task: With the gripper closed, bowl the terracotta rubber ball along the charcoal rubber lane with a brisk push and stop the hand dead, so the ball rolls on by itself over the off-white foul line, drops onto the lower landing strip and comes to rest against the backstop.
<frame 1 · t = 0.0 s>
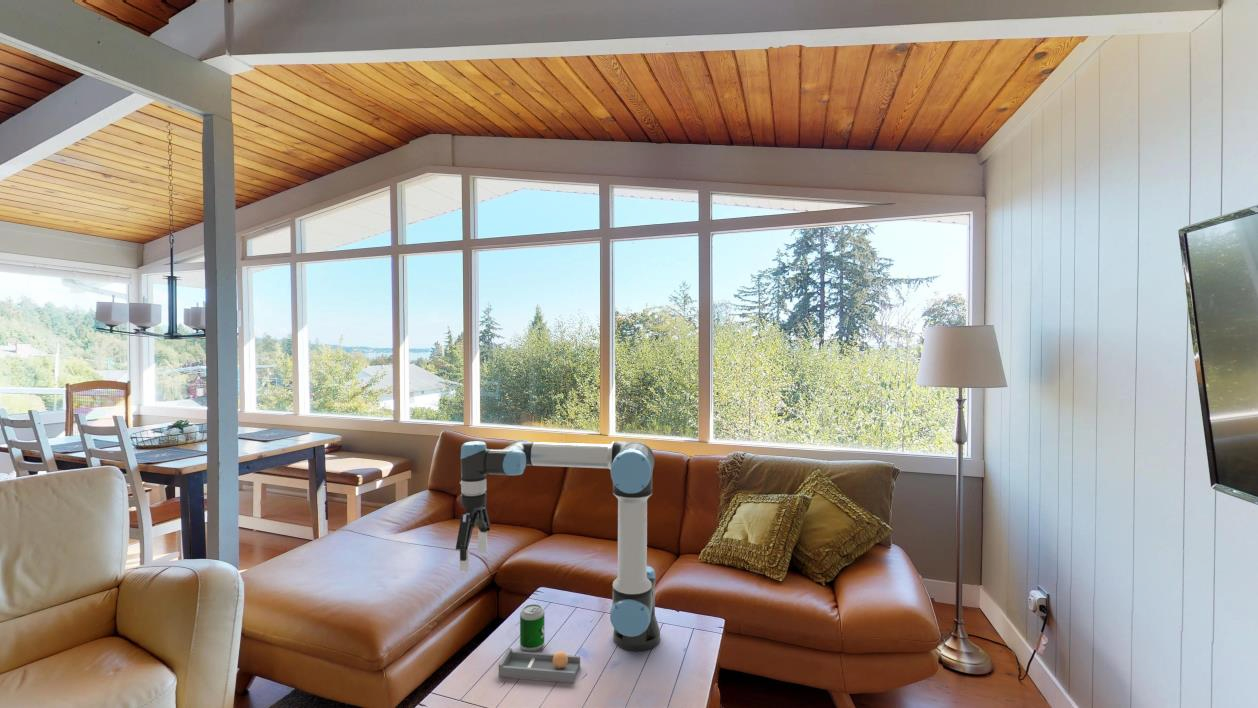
hand: (473, 560, 167), 28 cm above the table, fingers open, 13 cm apart
lane: (540, 670, 157), on the table
soda can: (532, 647, 170), on the table
ball: (560, 660, 156), point 4 cm above the table, touching lane
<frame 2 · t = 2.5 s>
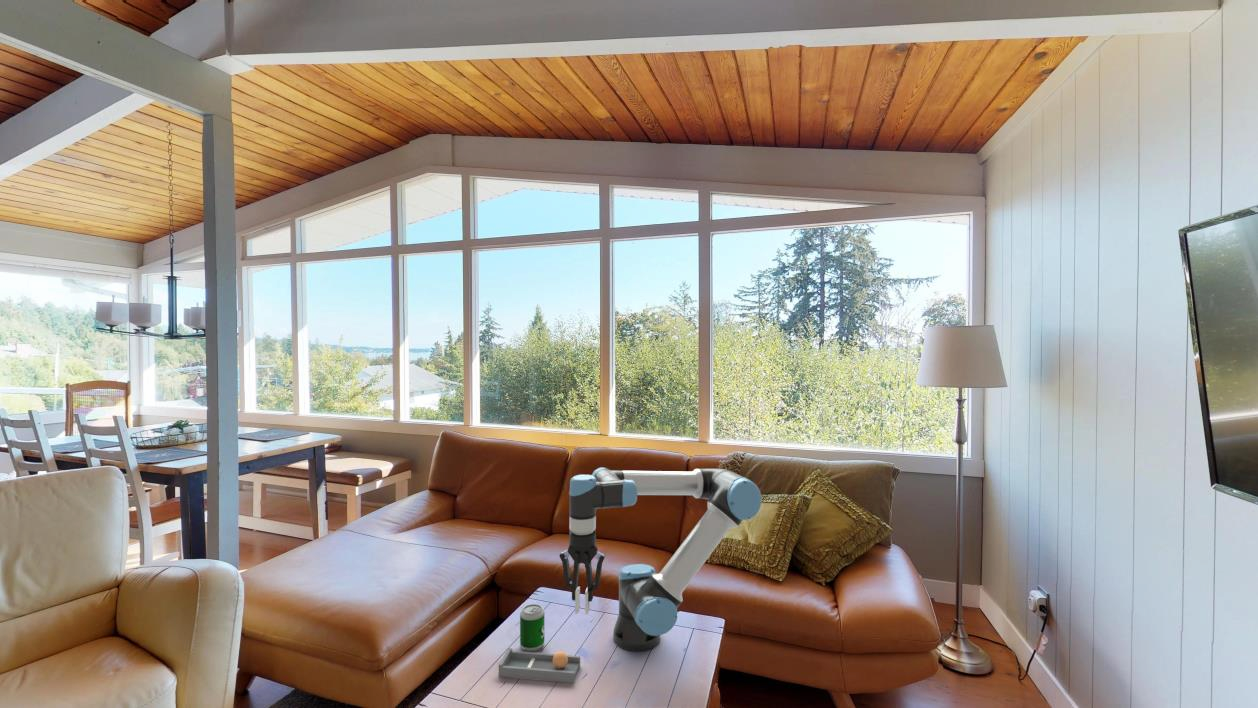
hand: (582, 611, 155), 18 cm above the table, fingers open, 2 cm apart
nothing on the table moved.
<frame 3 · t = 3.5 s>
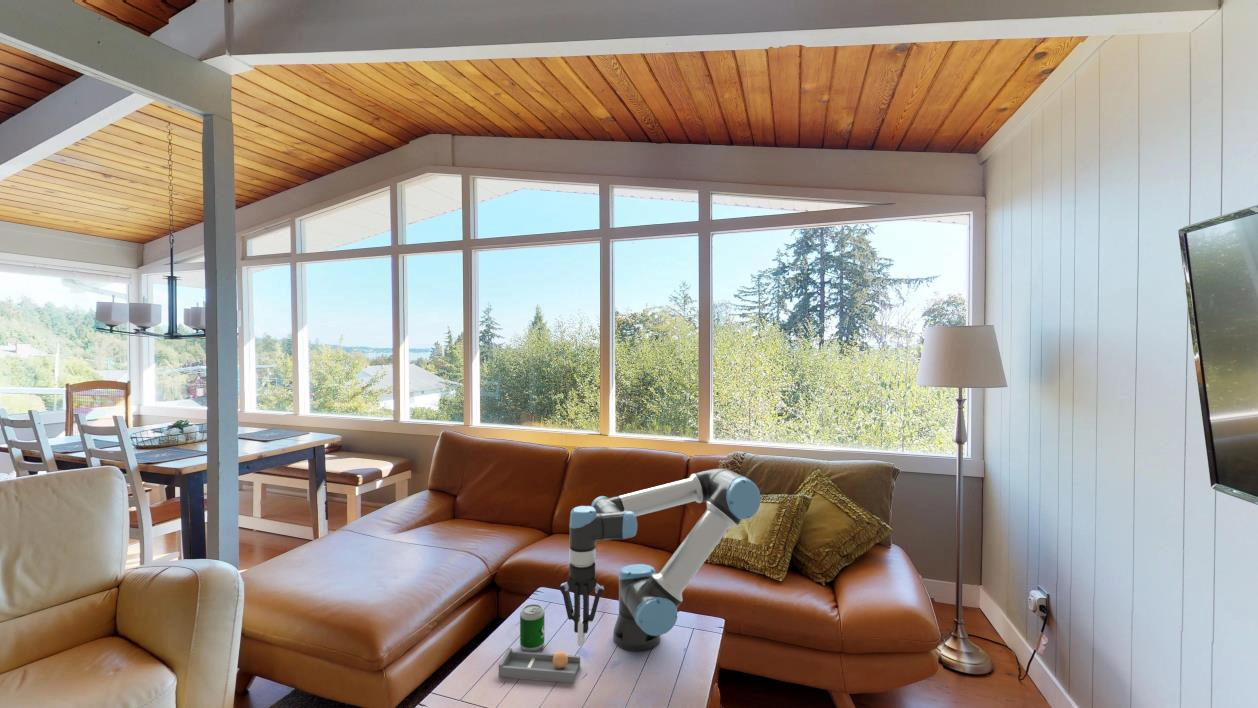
hand: (581, 643, 155), 9 cm above the table, fingers closed
nothing on the table moved.
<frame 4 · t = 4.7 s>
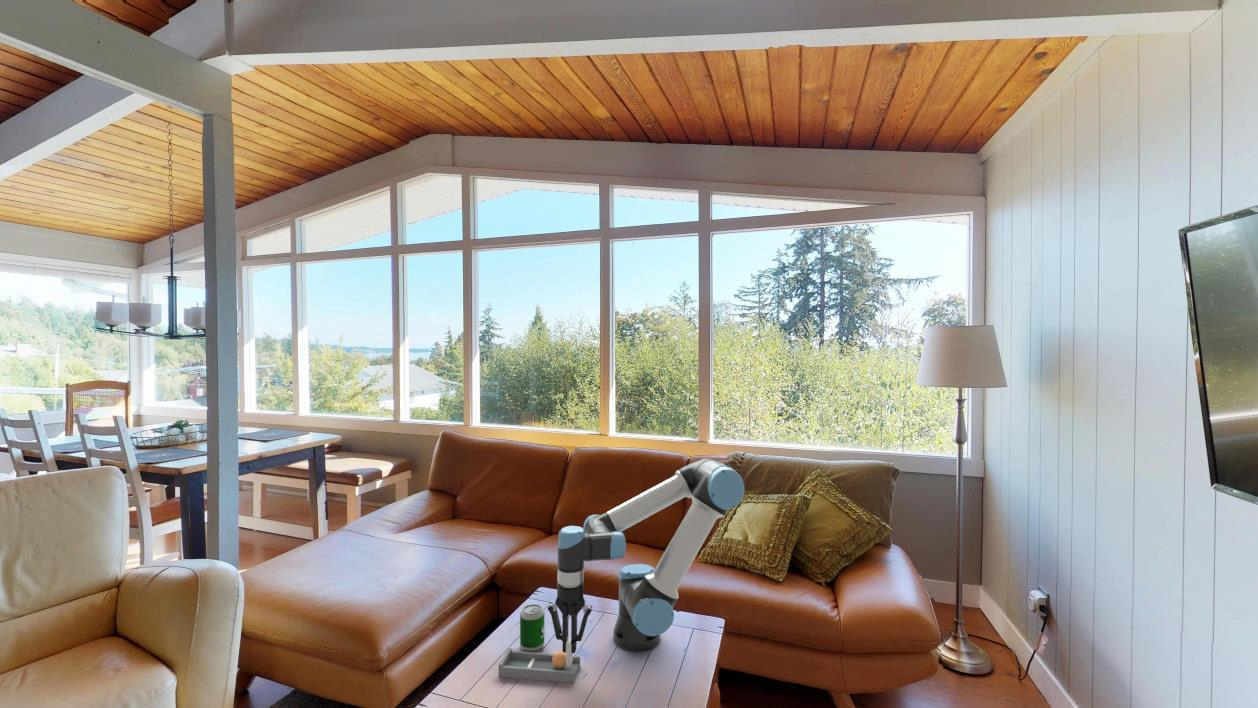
hand: (569, 662, 156), 3 cm above the table, fingers closed
ball: (559, 659, 156), point 4 cm above the table, touching gripper
everything else where it was.
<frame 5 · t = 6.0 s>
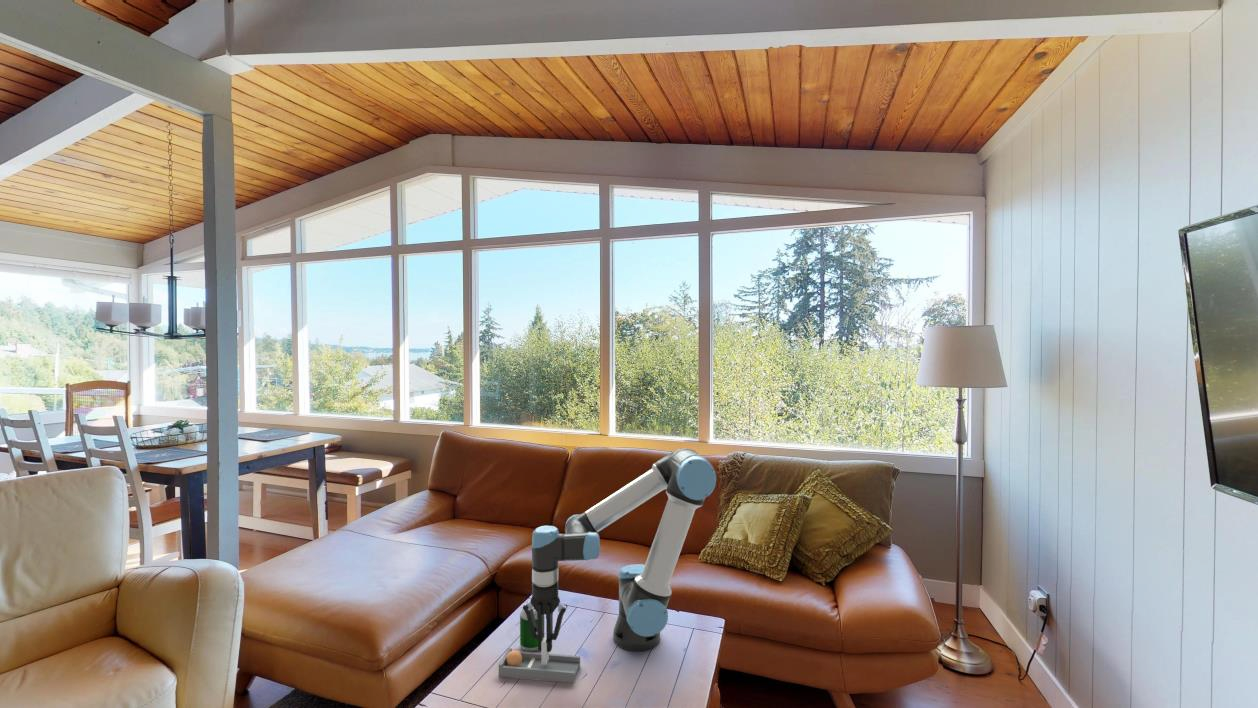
hand: (545, 661, 157), 3 cm above the table, fingers closed
ball: (514, 658, 158), point 3 cm above the table, touching lane
everything else where it was.
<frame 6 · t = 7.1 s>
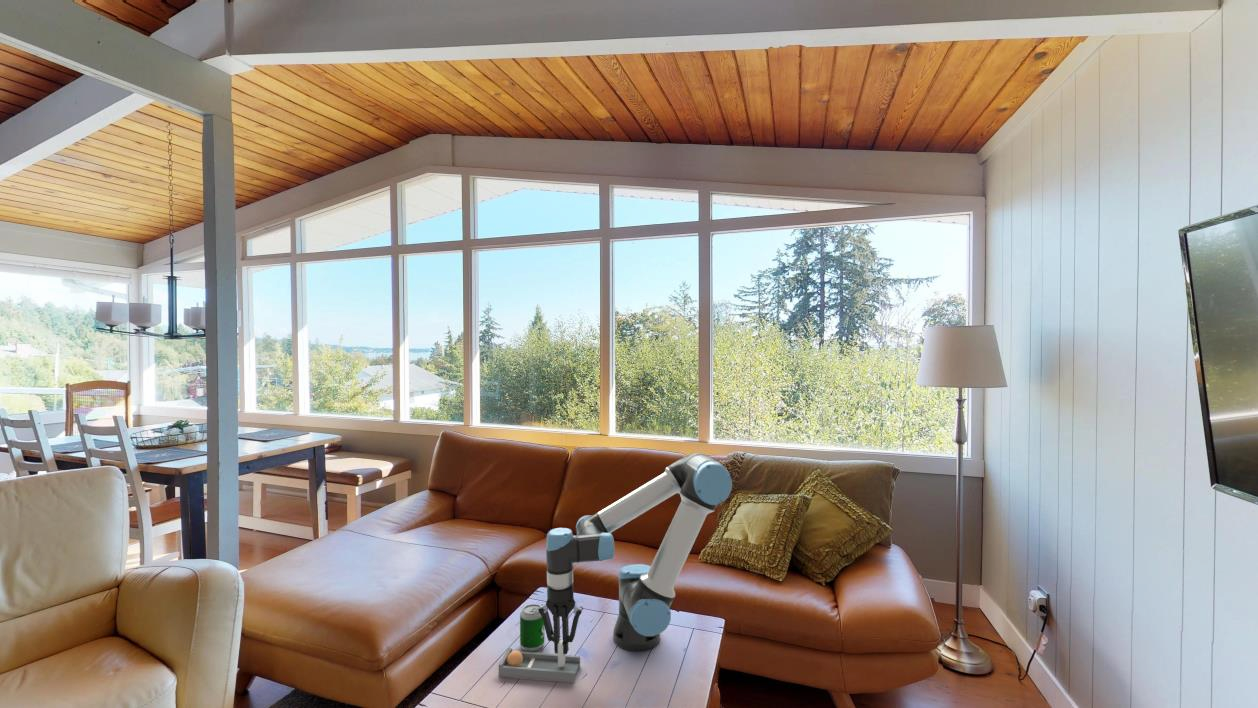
hand: (561, 663, 157), 2 cm above the table, fingers closed
ball: (515, 659, 157), point 3 cm above the table, tilted 12°, touching lane
everything else where it was.
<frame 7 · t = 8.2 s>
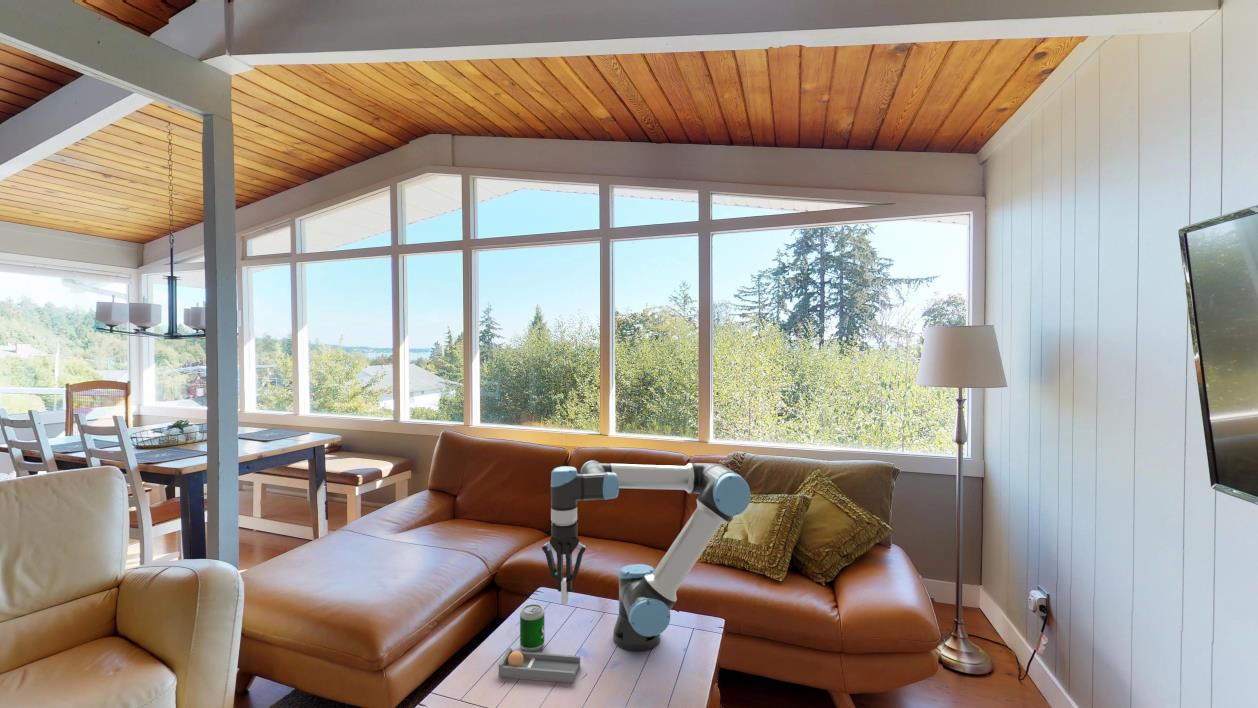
hand: (564, 602, 156), 20 cm above the table, fingers closed
ball: (515, 659, 157), point 3 cm above the table, tilted 21°, touching lane
everything else where it was.
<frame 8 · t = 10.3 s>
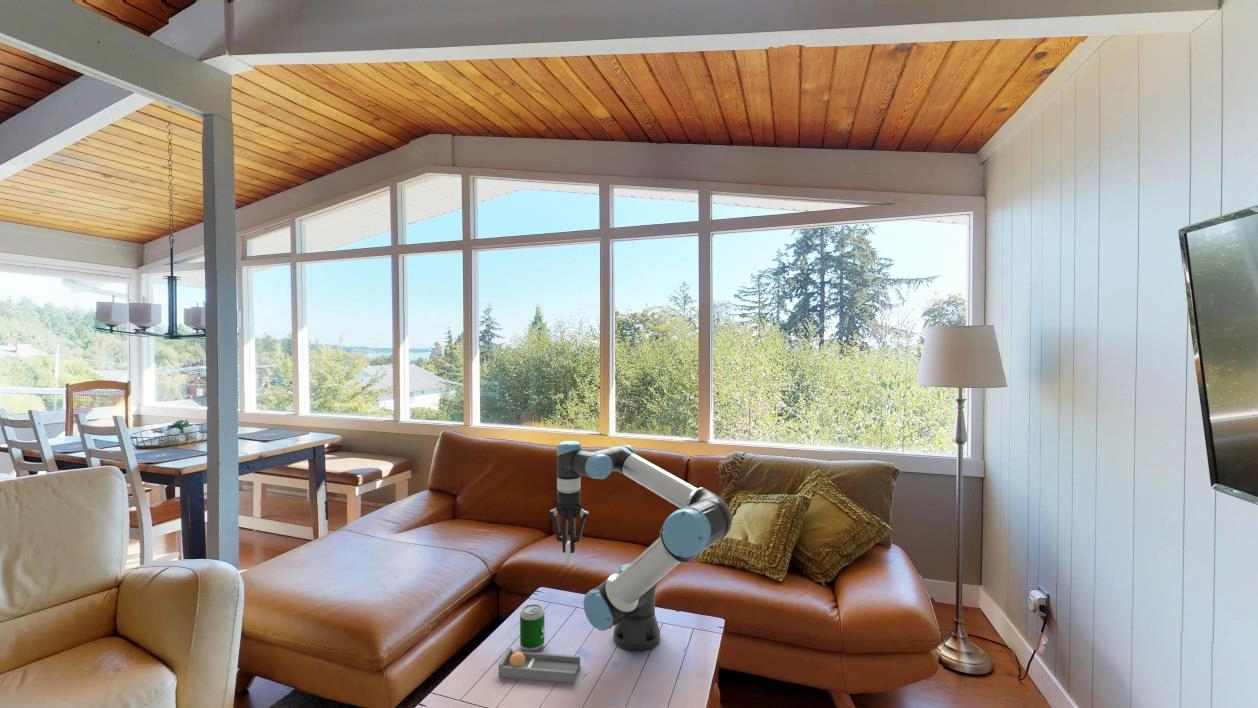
hand: (568, 562, 175), 24 cm above the table, fingers closed
ball: (517, 660, 157), point 3 cm above the table, tilted 39°, touching lane
everything else where it was.
at the end: ball 1.7 cm from the target spot, point 3.2 cm above the table; ball moved 12.5 cm from its start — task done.
